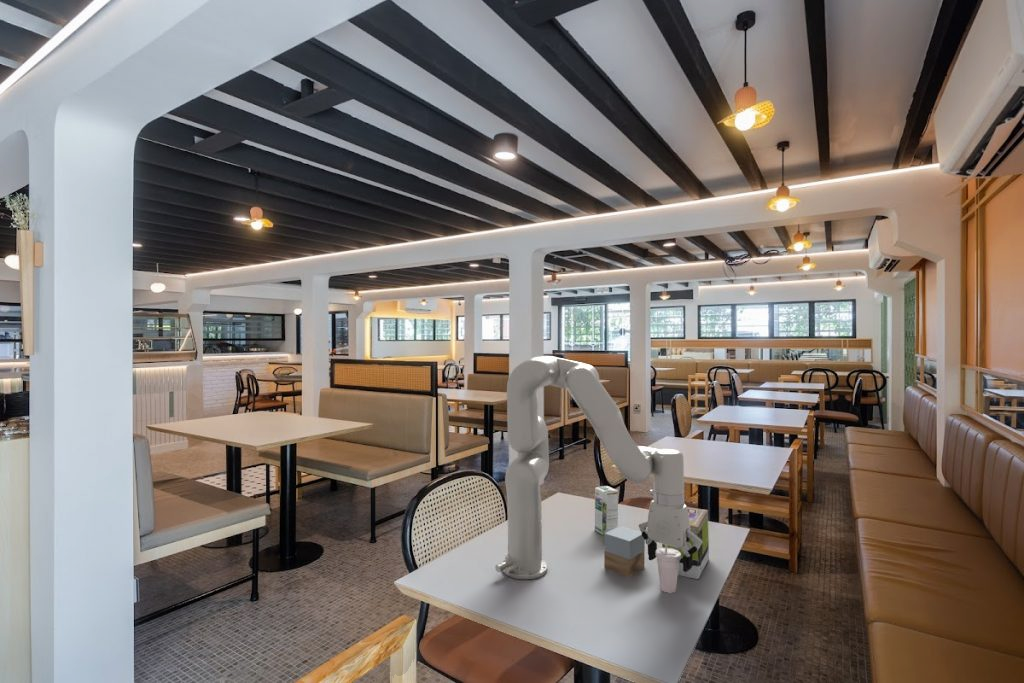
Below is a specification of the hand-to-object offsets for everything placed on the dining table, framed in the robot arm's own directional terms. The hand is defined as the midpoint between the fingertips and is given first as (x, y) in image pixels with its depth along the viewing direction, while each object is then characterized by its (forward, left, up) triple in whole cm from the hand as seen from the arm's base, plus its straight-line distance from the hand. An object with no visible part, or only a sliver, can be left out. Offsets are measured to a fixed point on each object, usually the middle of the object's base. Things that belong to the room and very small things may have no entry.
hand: (669, 564), depth 134 cm
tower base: (+3, +15, -7) cm, 17 cm away
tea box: (+16, +4, -7) cm, 18 cm away
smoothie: (0, 0, -7) cm, 7 cm away
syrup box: (+21, +34, -7) cm, 41 cm away
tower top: (+3, +15, -2) cm, 16 cm away
